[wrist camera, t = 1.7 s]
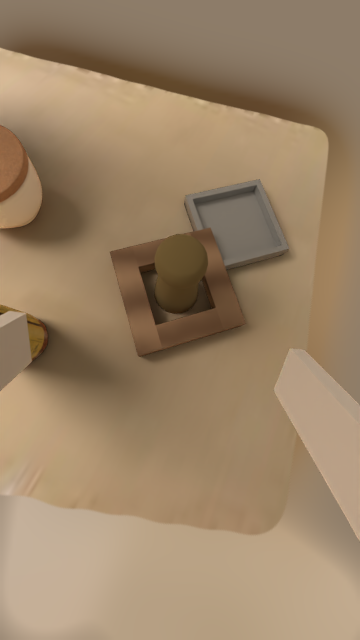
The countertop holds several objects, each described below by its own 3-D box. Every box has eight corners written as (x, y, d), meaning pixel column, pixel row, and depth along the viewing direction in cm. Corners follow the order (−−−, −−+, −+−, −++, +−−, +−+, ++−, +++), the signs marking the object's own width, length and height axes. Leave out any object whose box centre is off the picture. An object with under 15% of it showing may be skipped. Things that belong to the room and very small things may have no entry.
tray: (184, 204, 34) (185, 195, 32) (254, 188, 35) (259, 179, 34) (208, 274, 32) (211, 269, 30) (282, 254, 33) (289, 248, 32)
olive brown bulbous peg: (174, 263, 32) (179, 210, 21) (206, 290, 31) (229, 251, 21) (144, 293, 31) (134, 254, 20) (178, 322, 30) (186, 298, 19)
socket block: (113, 258, 31) (109, 251, 29) (207, 235, 33) (210, 227, 31) (139, 356, 29) (138, 356, 27) (240, 326, 31) (245, 323, 29)
